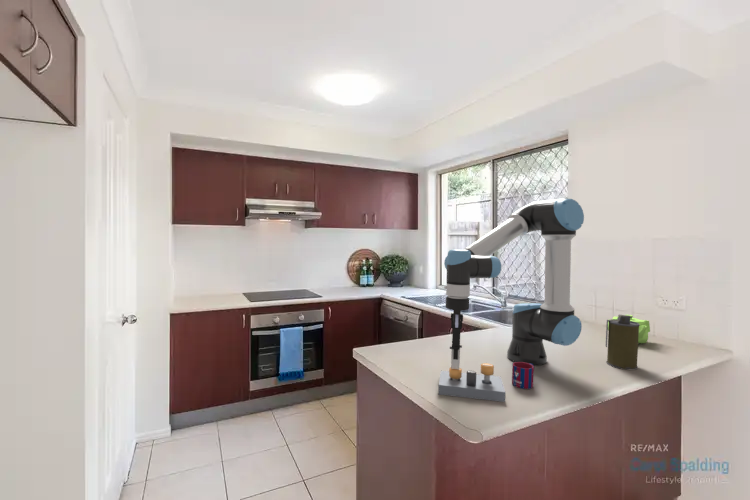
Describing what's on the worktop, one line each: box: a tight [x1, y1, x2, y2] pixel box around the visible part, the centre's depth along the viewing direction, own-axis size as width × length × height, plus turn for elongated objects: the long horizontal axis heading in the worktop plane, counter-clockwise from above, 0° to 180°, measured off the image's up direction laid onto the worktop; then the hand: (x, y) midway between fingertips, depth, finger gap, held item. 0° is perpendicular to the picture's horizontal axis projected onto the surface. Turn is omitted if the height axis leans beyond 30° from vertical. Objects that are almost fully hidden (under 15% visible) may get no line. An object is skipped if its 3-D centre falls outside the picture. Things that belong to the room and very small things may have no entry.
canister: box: [605, 314, 640, 370], centre depth 147 cm, size 11×10×20 cm
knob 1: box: [448, 366, 463, 381], centre depth 121 cm, size 4×4×5 cm
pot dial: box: [466, 370, 477, 387], centre depth 117 cm, size 3×3×4 cm
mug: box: [511, 361, 535, 390], centre depth 126 cm, size 7×10×7 cm
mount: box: [438, 370, 506, 403], centre depth 120 cm, size 20×13×3 cm, turn 77°
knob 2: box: [480, 362, 495, 383], centre depth 119 cm, size 4×4×6 cm
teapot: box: [608, 314, 651, 344], centre depth 180 cm, size 18×20×13 cm
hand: (455, 367), depth 121 cm, fingers closed
